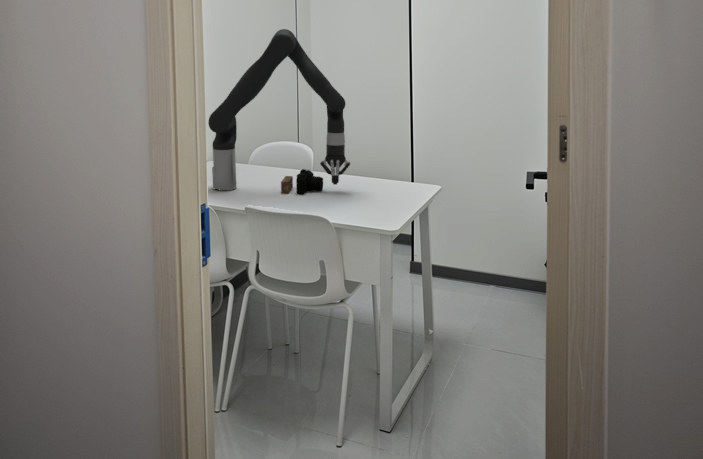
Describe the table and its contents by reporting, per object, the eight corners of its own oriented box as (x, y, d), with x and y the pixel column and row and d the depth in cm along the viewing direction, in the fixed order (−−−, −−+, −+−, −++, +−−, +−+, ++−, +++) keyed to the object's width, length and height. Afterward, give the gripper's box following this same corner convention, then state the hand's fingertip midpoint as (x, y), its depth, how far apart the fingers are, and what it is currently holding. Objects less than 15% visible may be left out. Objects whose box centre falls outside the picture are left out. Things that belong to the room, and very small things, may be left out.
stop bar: (281, 193, 304) (281, 181, 303) (285, 187, 315) (285, 176, 313) (288, 193, 304) (288, 181, 303) (292, 187, 315) (292, 176, 313)
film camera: (316, 196, 301) (316, 174, 299) (294, 194, 303) (293, 173, 301) (325, 188, 315) (325, 167, 313) (304, 186, 317) (303, 166, 315)
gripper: (318, 144, 300) (318, 185, 304) (350, 145, 299) (350, 186, 303) (320, 141, 307) (320, 181, 312) (352, 141, 306) (351, 182, 311)
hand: (335, 184), depth 308 cm, fingers closed
